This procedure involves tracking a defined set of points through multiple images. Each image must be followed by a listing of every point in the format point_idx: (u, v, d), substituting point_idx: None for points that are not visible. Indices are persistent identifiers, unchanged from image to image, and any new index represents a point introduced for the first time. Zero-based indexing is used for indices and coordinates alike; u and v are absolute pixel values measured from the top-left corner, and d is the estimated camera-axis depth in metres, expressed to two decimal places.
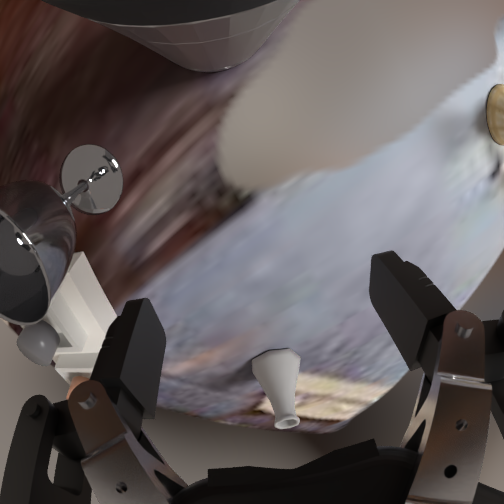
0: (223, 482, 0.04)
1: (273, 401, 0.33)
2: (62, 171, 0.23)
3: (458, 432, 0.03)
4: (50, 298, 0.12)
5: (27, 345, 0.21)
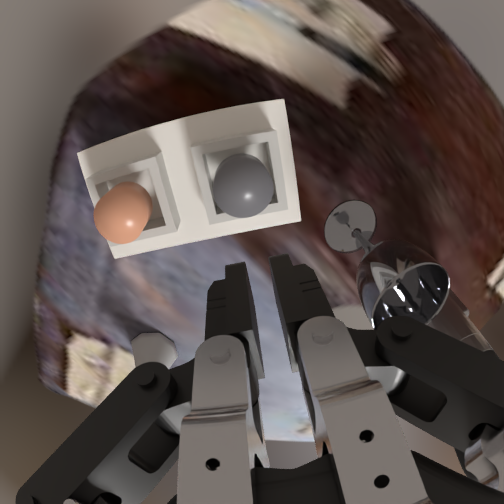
0: None
1: None
2: (364, 205, 0.33)
3: (367, 444, 0.04)
4: None
5: (257, 186, 0.21)
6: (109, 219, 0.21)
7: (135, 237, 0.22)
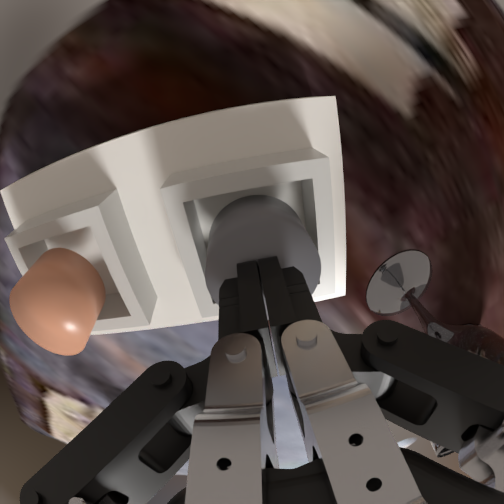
0: None
1: None
2: (421, 256, 0.22)
3: (357, 447, 0.04)
4: (442, 453, 0.12)
5: None
6: (33, 320, 0.10)
7: (78, 350, 0.11)
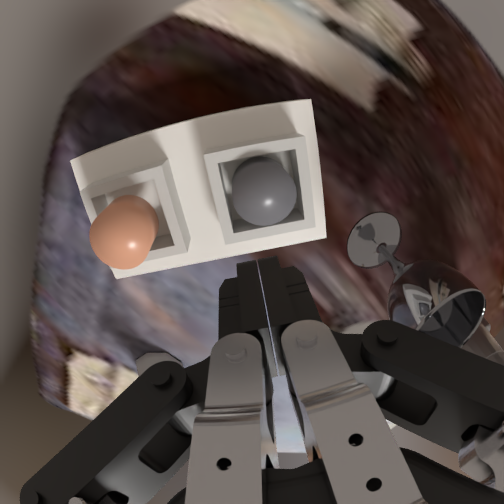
0: None
1: None
2: (390, 217, 0.29)
3: (357, 447, 0.04)
4: None
5: (279, 192, 0.19)
6: (108, 241, 0.18)
7: (139, 262, 0.19)
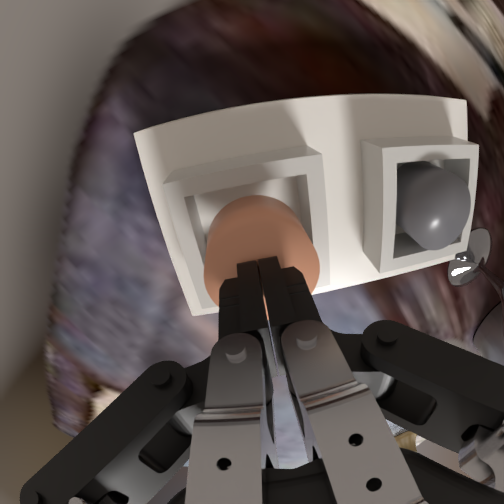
0: None
1: None
2: (486, 233, 0.22)
3: (357, 447, 0.04)
4: None
5: (457, 210, 0.13)
6: None
7: None
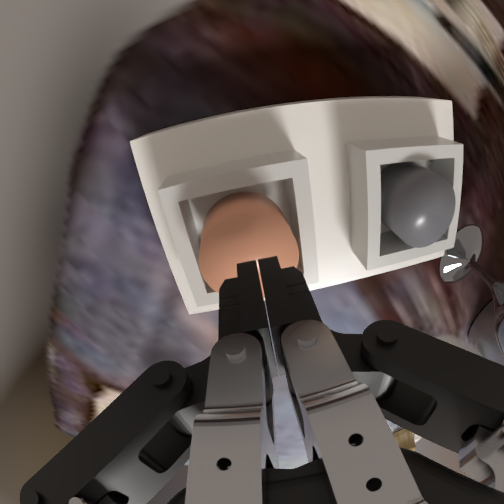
0: None
1: None
2: (477, 230, 0.23)
3: (358, 447, 0.04)
4: None
5: (441, 208, 0.13)
6: (231, 261, 0.13)
7: None
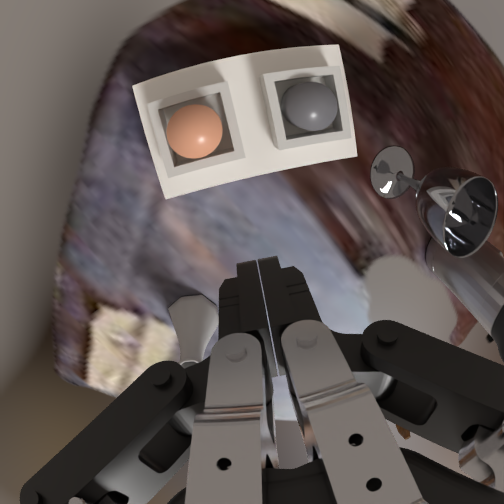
0: None
1: (196, 341, 0.34)
2: (403, 151, 0.32)
3: (357, 447, 0.04)
4: (450, 253, 0.22)
5: (324, 104, 0.22)
6: (184, 132, 0.21)
7: (211, 150, 0.22)
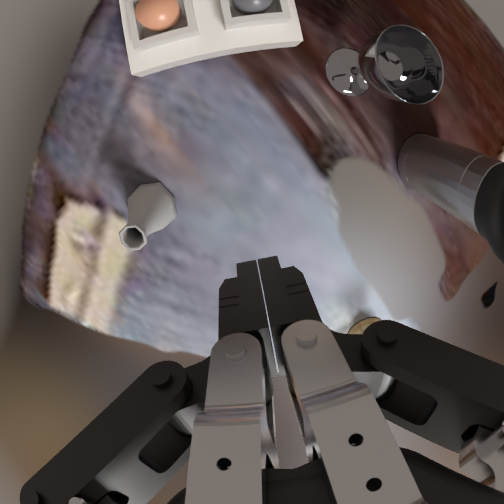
0: None
1: (144, 215, 0.32)
2: None
3: (357, 447, 0.04)
4: (394, 94, 0.20)
5: None
6: (148, 8, 0.19)
7: (166, 19, 0.20)
